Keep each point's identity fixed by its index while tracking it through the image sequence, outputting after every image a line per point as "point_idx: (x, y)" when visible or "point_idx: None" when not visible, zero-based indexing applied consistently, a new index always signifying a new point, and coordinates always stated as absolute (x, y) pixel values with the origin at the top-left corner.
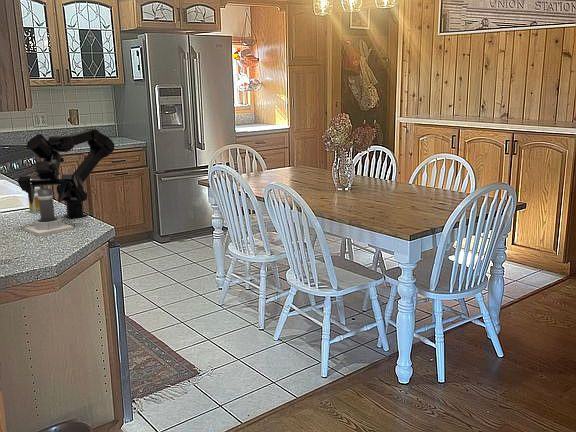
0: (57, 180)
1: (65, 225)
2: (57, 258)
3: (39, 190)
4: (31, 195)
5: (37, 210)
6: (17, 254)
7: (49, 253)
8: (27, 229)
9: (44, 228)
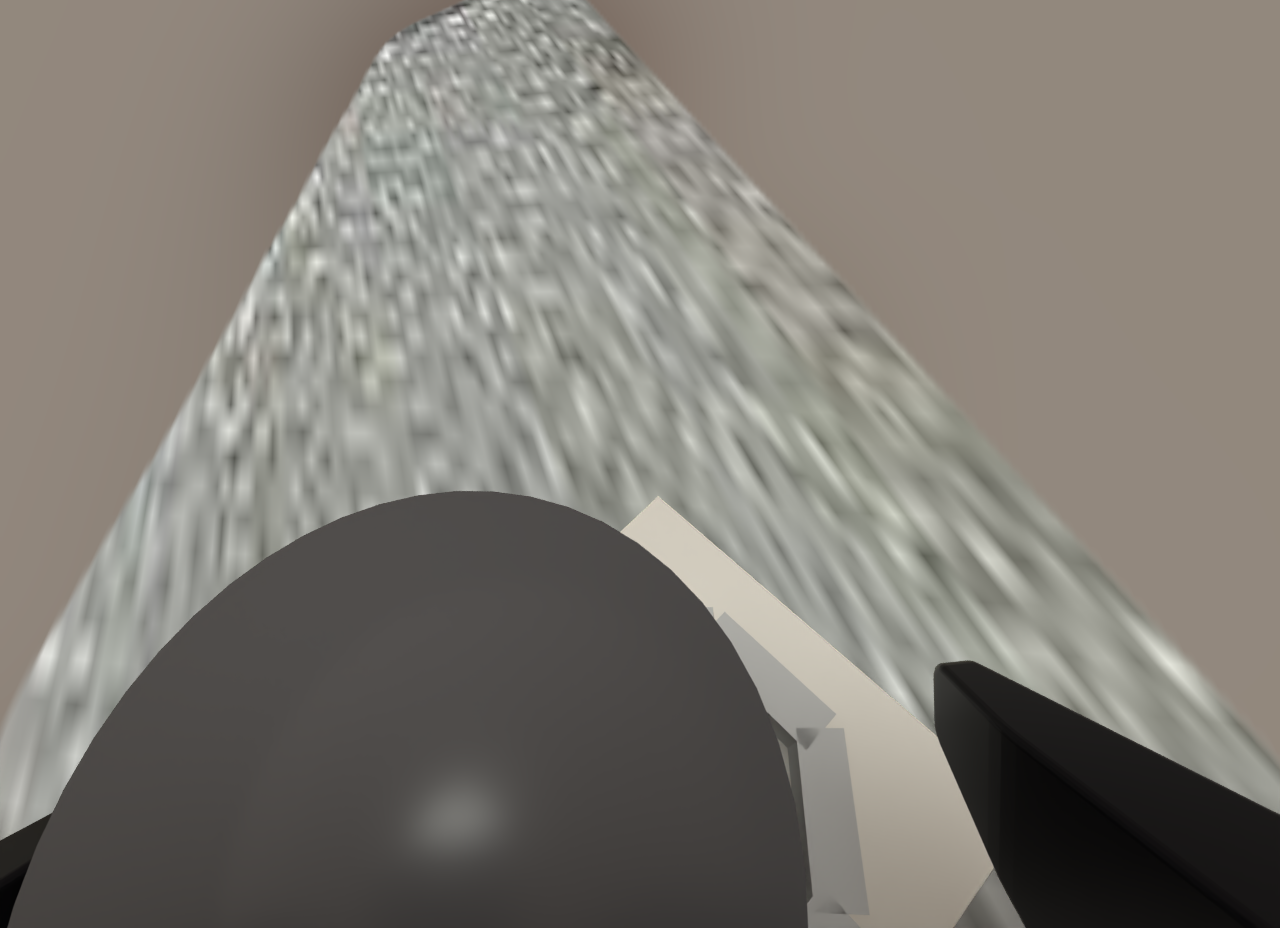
0: None
1: None
2: (388, 105)
3: (631, 686)
4: (1114, 845)
5: None
6: (619, 130)
7: (443, 155)
8: (916, 721)
9: None
